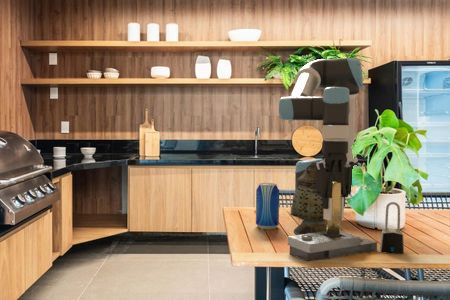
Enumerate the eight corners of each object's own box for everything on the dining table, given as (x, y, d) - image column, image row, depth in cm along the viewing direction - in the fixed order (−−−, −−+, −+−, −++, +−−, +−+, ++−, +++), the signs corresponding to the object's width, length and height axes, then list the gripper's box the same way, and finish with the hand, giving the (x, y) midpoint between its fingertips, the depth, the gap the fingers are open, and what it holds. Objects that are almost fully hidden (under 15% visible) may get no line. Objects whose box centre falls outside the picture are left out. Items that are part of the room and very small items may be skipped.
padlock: (402, 250, 138) (404, 201, 137) (404, 254, 134) (406, 203, 133) (379, 248, 140) (380, 200, 139) (380, 252, 136) (381, 202, 135)
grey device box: (352, 242, 147) (353, 224, 147) (376, 250, 138) (377, 231, 138) (287, 253, 134) (287, 233, 134) (309, 262, 126) (309, 241, 125)
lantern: (340, 232, 160) (342, 161, 159) (321, 240, 149) (322, 164, 148) (305, 226, 169) (307, 159, 168) (284, 233, 159) (285, 161, 157)
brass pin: (333, 230, 139) (334, 181, 138) (343, 233, 135) (344, 182, 134) (323, 231, 137) (324, 182, 136) (332, 234, 133) (333, 183, 132)
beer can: (277, 230, 163) (278, 185, 162) (254, 229, 165) (254, 185, 164) (279, 225, 171) (280, 183, 171) (257, 224, 173) (257, 182, 172)
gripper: (347, 139, 142) (345, 214, 143) (304, 140, 134) (302, 219, 135) (365, 140, 135) (363, 218, 137) (321, 140, 127) (319, 224, 128)
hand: (333, 218), depth 136 cm, fingers closed on brass pin, 4 cm apart
